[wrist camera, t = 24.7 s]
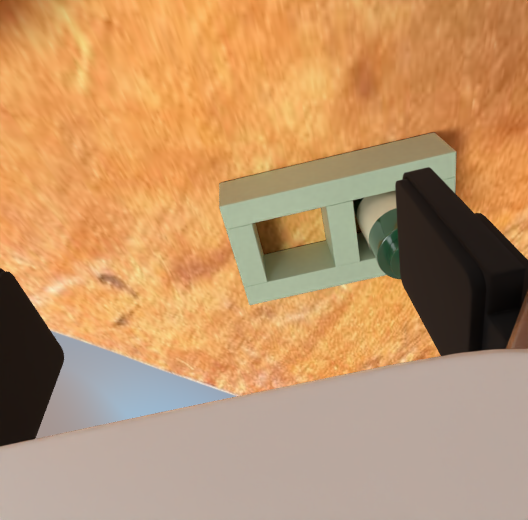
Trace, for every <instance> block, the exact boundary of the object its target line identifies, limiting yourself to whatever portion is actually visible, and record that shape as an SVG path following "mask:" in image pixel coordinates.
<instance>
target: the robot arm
mask: <svg viewBox="0 0 528 520" xmlns="http://www.w3.org/2000/svg"><path fill="white" fill-rule="evenodd" d="M395 191H396V209H397V226H398V243H399V260H400V275H401V280H402V283H403V286H404V288H405V290H406V292H407V294H408V296H409V297H410V299H411V301H412V303H413V305H414V307H415V309H416V310H417V312H418V314H419V316H420V318H421V320H422V322H423V323H424V325H425V327H426V329H427V331H428V333H429V334H430V336H431V338H432V340H433V342H434V344H435V346H436V347H437V349H438V351H439V353H440V355H441V356H439V357H433V358H428V359H422V360H416V361H410V362H404V363H399V364H393V365H388V366H383V367H378V368H373V369H368V370H364V371H359V372H354V373H349V374H344V375H339V376H334V377H329V378H325V379H320V380H315V381H310V382H305V383H300V384H295V385H290V386H286V387H281V388H276V389H271V390H266V391H261V392H256V393H251V394H247V395H242V396H237V397H232V398H227V399H223V400H218V401H213V402H209V403H203V404H199V405H194V406H189V407H185V408H180V409H175V410H170V411H165V412H161V413H156V414H151V415H147V416H141V417H137V418H132V419H127V420H122V421H118V422H113V423H109V424H104V425H99V426H94V427H89V428H85V429H80V430H75V431H71V432H66V433H61V434H56V435H52V436H47V437H42V438H38V439H35V438H36V435H37V433H38V430H39V427H40V424H41V422H42V419H43V416H44V413H45V411H46V408H47V405H48V403H49V400H50V397H51V395H52V392H53V389H54V387H55V384H56V381H57V378H58V376H59V373H60V370H61V368H62V365H63V362H64V353H63V350H62V348H61V346H60V345H59V343H58V342H57V341H56V339H55V337H54V336H53V334H52V333H51V331H50V330H49V328H48V327H47V325H46V324H45V322H44V321H43V319H42V318H41V316H40V315H39V313H38V312H37V310H36V309H35V307H34V306H33V304H32V303H31V301H30V300H29V298H28V297H27V295H26V294H25V292H24V291H23V289H22V288H21V286H20V285H19V283H18V282H17V280H16V279H15V277H14V276H13V275H12V274H11V273H10V272H5V271H4V270H2V269H1V268H0V520H528V260H527V259H526V258H525V257H524V256H523V255H522V254H521V253H520V252H519V251H518V250H517V249H516V248H515V247H514V245H513V244H512V243H511V242H510V241H509V240H508V239H507V238H506V237H505V236H504V235H503V234H502V233H501V232H500V231H499V230H498V229H497V228H496V227H495V226H494V225H493V224H492V223H491V222H490V221H489V220H488V219H487V218H486V217H485V216H484V215H482V214H481V213H475V214H474V213H473V212H472V211H471V210H470V209H469V208H468V207H467V206H466V204H465V203H464V202H463V201H462V200H461V199H460V198H459V197H458V196H457V195H456V194H455V193H454V192H453V191H452V190H451V189H450V188H449V187H448V185H447V184H446V183H445V182H444V181H443V180H442V179H441V178H440V177H439V176H438V175H437V174H436V173H435V172H434V171H433V170H432V169H431V168H430V167H427V168H423V169H418V170H414V171H410V172H405V173H404V174H403V178H402V180H399V181H396V184H395Z"/></svg>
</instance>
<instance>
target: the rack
mask: <svg viewBox="0 0 528 520" xmlns="http://www.w3.org/2000/svg"><path fill="white" fill-rule="evenodd" d="M427 167H430V168H431V169H432V170H433V171H434V172H435V173H436V174H437V175H438V176H439V177H440V178H441V179H442V180H443V181H444V182H445V183H446V184H447V185H448V187H449V188H450V189H451V190H452V191H453V192H454V193H455V187H456V177H455V176H456V151H455V150H454V149H453V148H452V147H451V146H449V145H448V144H447V143H446V142H445V141H444V140H443V139H441V138H440V137H439V136H438V135H437V134H436V133H434V132H433V133H429V134H425V135H421V136H417V137H412V138H408V139H404V140H400V141H395V142H391V143H387V144H383V145H379V146H374V147H370V148H366V149H362V150H357V151H353V152H349V153H345V154H341V155H336V156H332V157H328V158H324V159H320V160H315V161H311V162H307V163H303V164H298V165H294V166H290V167H286V168H282V169H277V170H273V171H269V172H265V173H260V174H256V175H252V176H248V177H244V178H239V179H235V180H231V181H227V182H222V183H219V208H220V211H221V214H222V218H223V221H224V224H225V227H226V231H227V234H228V237H229V240H230V243H231V247H232V250H233V253H234V256H235V260H236V263H237V266H238V269H239V273H240V276H241V279H242V282H243V285H244V289H245V292H246V295H247V298H248V302H249V305H253V304H257V303H262V302H267V301H271V300H276V299H280V298H285V297H289V296H294V295H298V294H303V293H307V292H312V291H316V290H321V289H325V288H330V287H334V286H339V285H343V284H348V283H352V282H357V281H362V280H366V279H371V278H375V277H380V276H384V275H386V274H385V273H384V272H383V271H382V270H381V269H380V267H379V265H378V263H377V261H376V259H375V257H374V255H373V253H372V251H371V250H370V248H369V246H368V244H367V242H366V240H365V238H364V236H363V234H362V232H361V233H357V232H356V223H355V215H354V206H353V200H356V199H360V198H365V197H369V196H373V195H378V194H382V193H386V192H391V191H395V184H396V181H399V180H402V178H403V174H404V173H405V172H410V171H414V170H418V169H423V168H427ZM317 208H321V212H322V218H323V224H324V230H325V236H326V241H322V242H317V243H313V244H309V245H304V246H300V247H295V248H291V249H286V250H282V251H278V252H273V253H269V254H263V250H262V246H261V242H260V238H259V235H258V231H257V227H256V222H261V221H265V220H269V219H274V218H278V217H282V216H287V215H291V214H295V213H300V212H304V211H308V210H313V209H317Z"/></svg>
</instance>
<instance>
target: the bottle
mask: <svg viewBox="0 0 528 520" xmlns="http://www.w3.org/2000/svg"><path fill="white" fill-rule="evenodd" d="M353 206H354V215H355V219H356V221H357V223H358V226H359V228H360V230H361V232H362V234H363V236H364V238H365V240H366V242H367V244H368V246H369V248H370V250H371V251H372V253H373V255H374V257H375V259H376V261H377V263H378V265H379V267H380V269H381V270H382V271H383V272H384V273H385V274H386V275H388V276H390V277H392V278H396V279H401V275H400V260H399V243H398V226H397V209H396V191H391V192H386V193H382V194H378V195H373V196H369V197H365V198H360V199H356V200H353Z"/></svg>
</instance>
